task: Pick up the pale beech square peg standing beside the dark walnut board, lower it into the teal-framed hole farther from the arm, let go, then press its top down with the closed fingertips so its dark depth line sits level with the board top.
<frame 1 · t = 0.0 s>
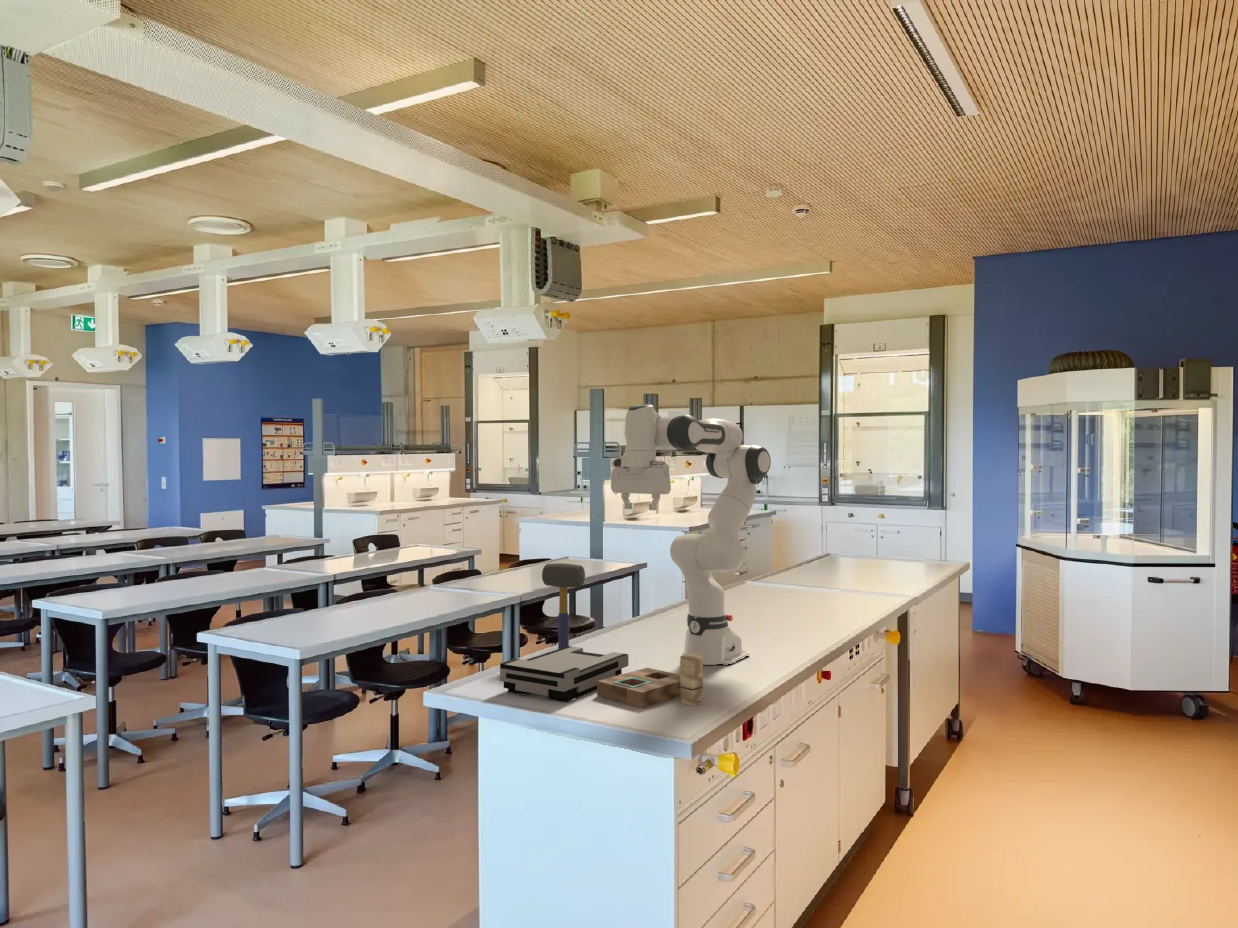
hand: (640, 509, 237), 48 cm above the table, tool pointing down, fingers open, 8 cm apart
board: (645, 694, 220), on the table
peg: (691, 703, 212), on the table
rubber mallet: (563, 659, 260), on the table
game console: (566, 686, 230), on the table
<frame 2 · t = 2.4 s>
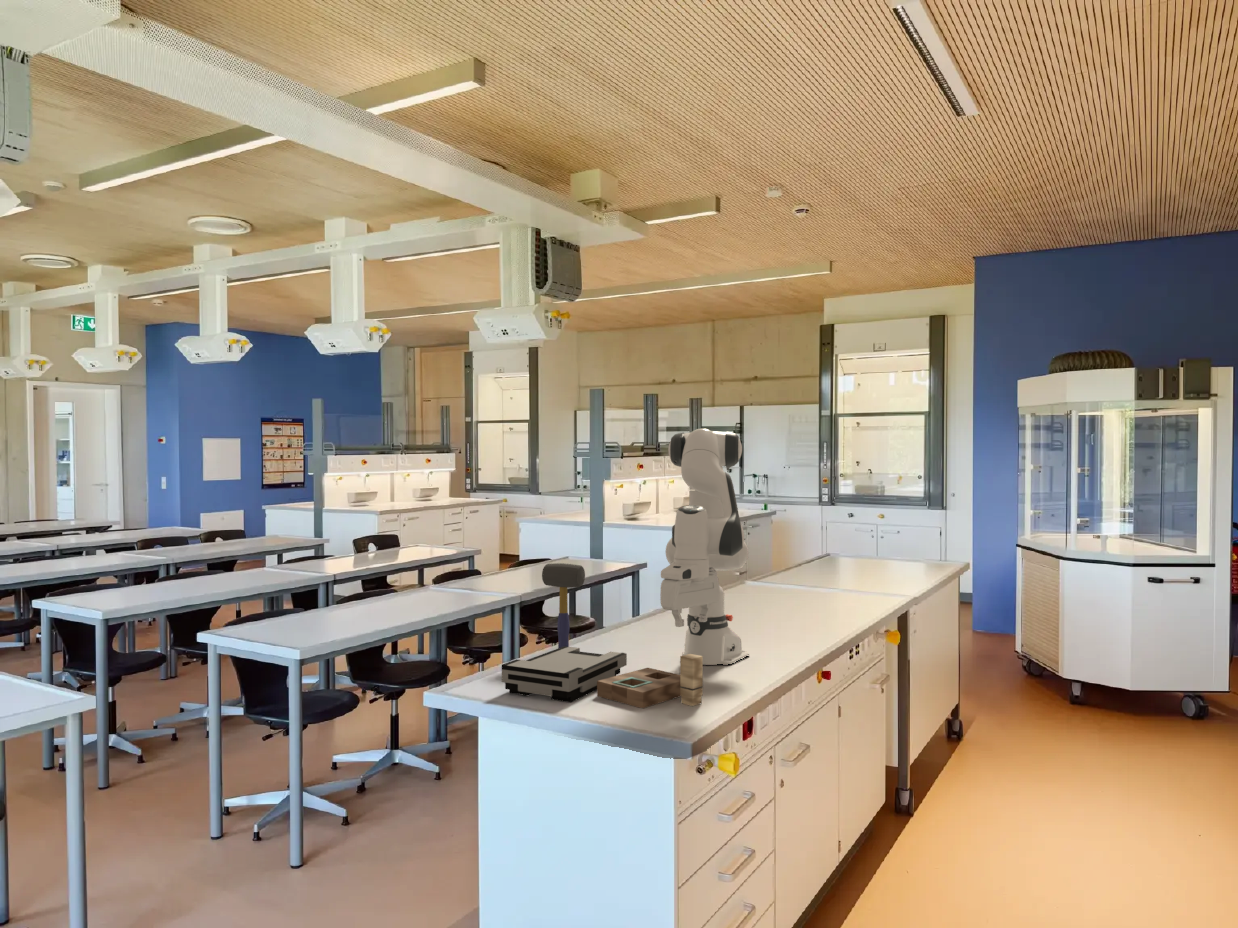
hand: (691, 623, 212), 20 cm above the table, tool pointing down, fingers open, 8 cm apart
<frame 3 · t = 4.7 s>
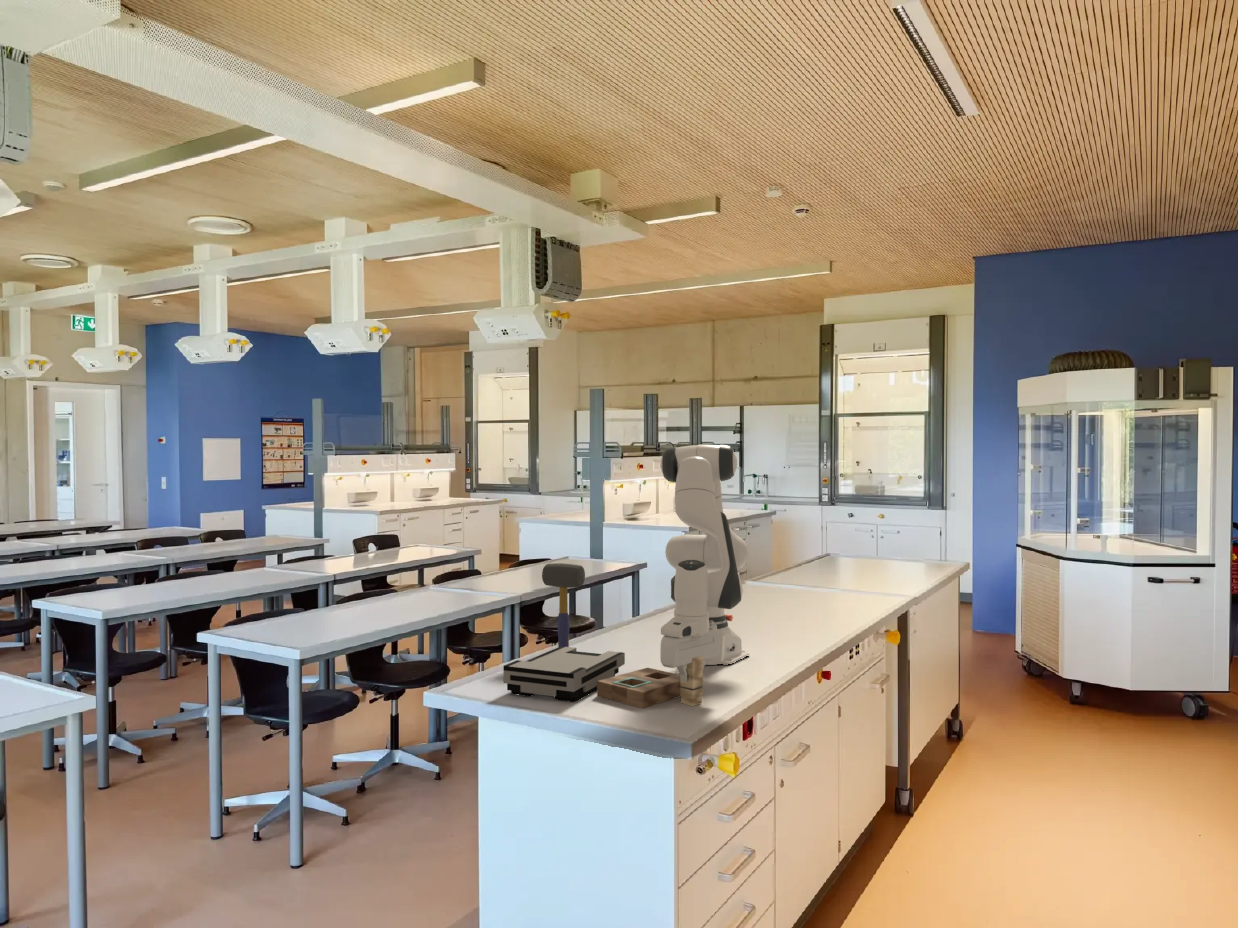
hand: (691, 679, 212), 6 cm above the table, tool pointing down, fingers closed on peg, 4 cm apart
peg: (691, 703, 212), on the table, touching gripper
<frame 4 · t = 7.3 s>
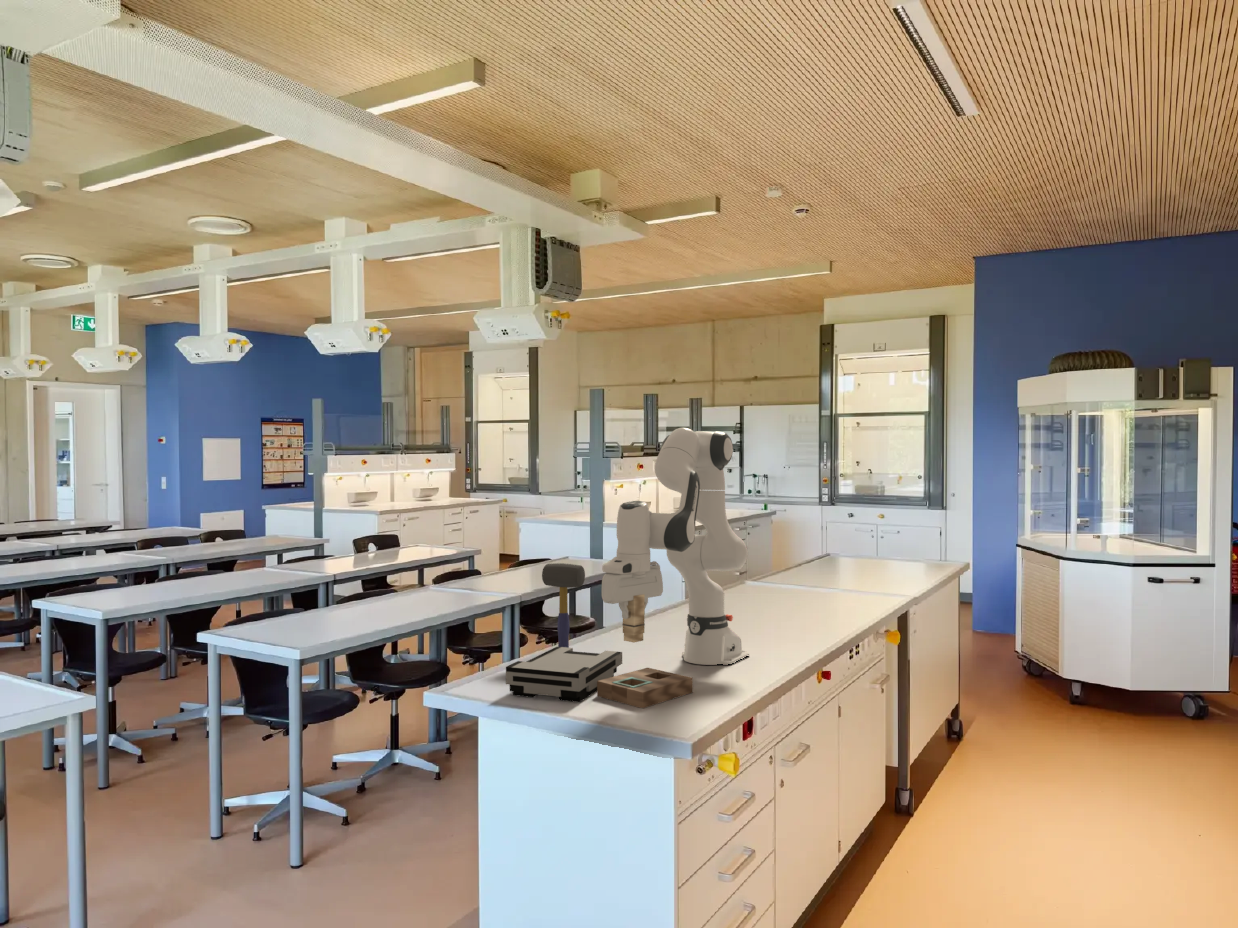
hand: (633, 616, 217), 21 cm above the table, tool pointing down, fingers closed on peg, 4 cm apart
peg: (633, 640, 217), point 15 cm above the table, touching gripper
when the fingers open (7 cm above the table, at t = 9.8 s): peg stays where it is, resting in board.
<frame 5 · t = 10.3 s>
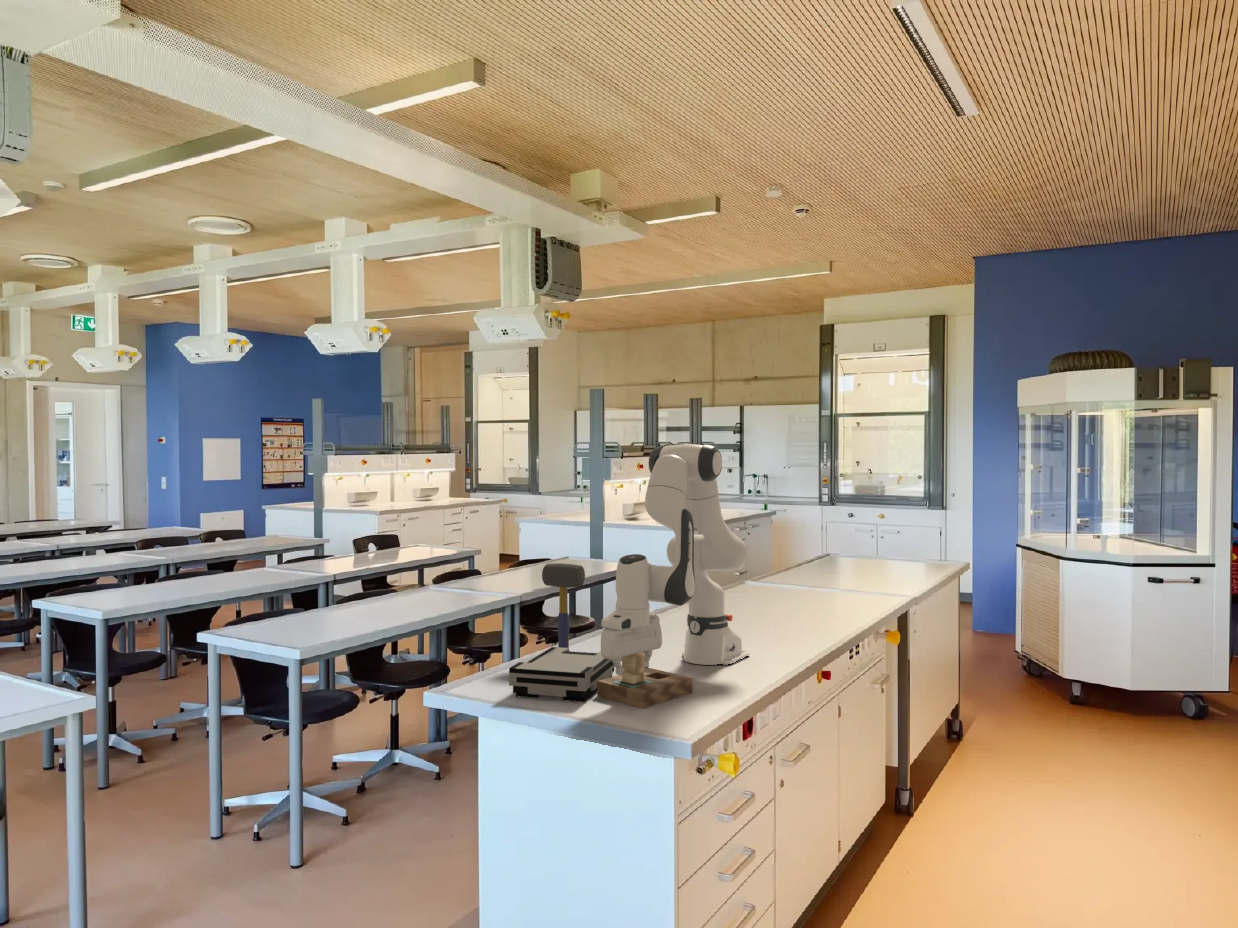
hand: (632, 670, 217), 7 cm above the table, tool pointing down, fingers open, 8 cm apart
peg: (632, 697, 217), resting in board
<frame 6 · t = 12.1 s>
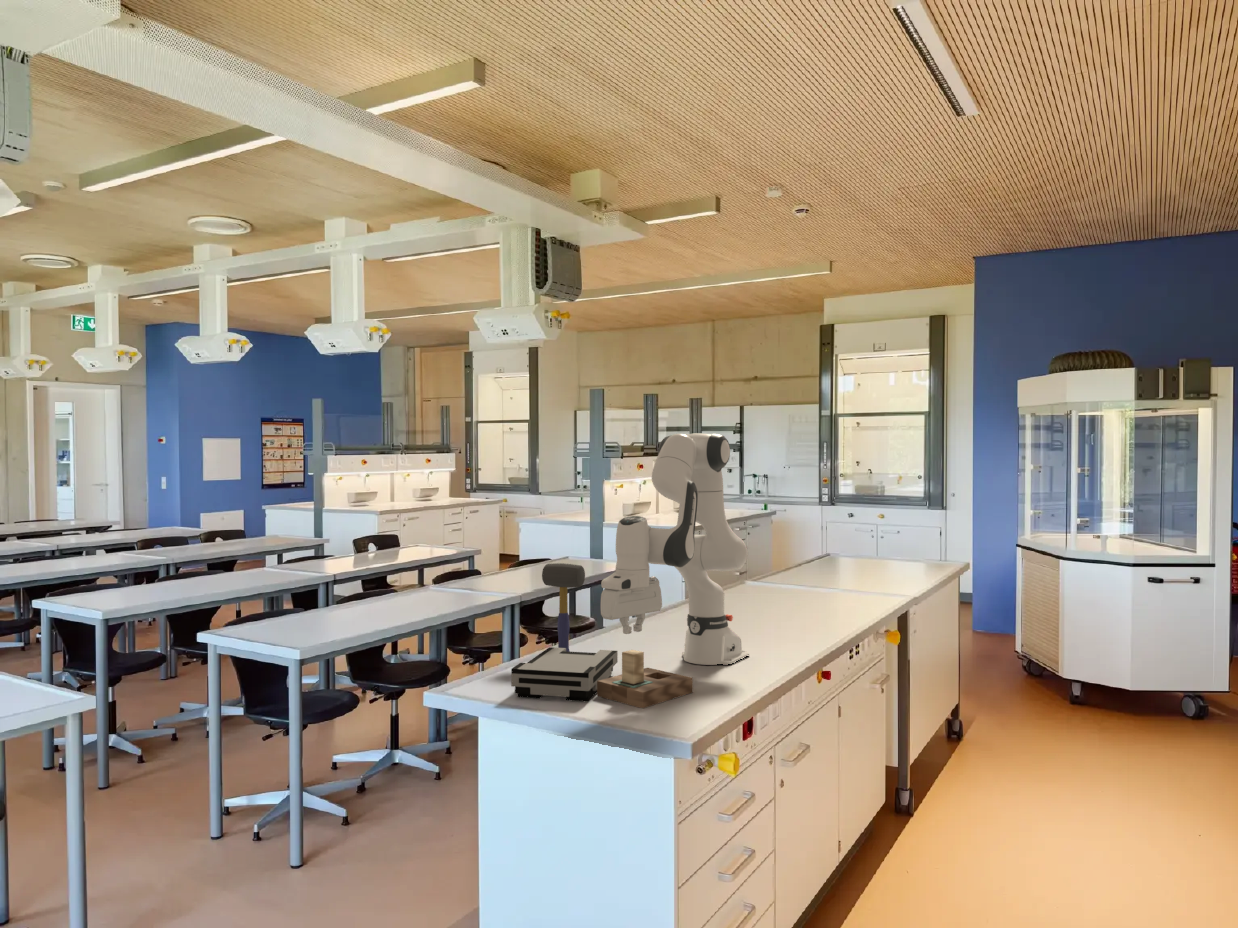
hand: (632, 632, 217), 17 cm above the table, tool pointing down, fingers open, 3 cm apart
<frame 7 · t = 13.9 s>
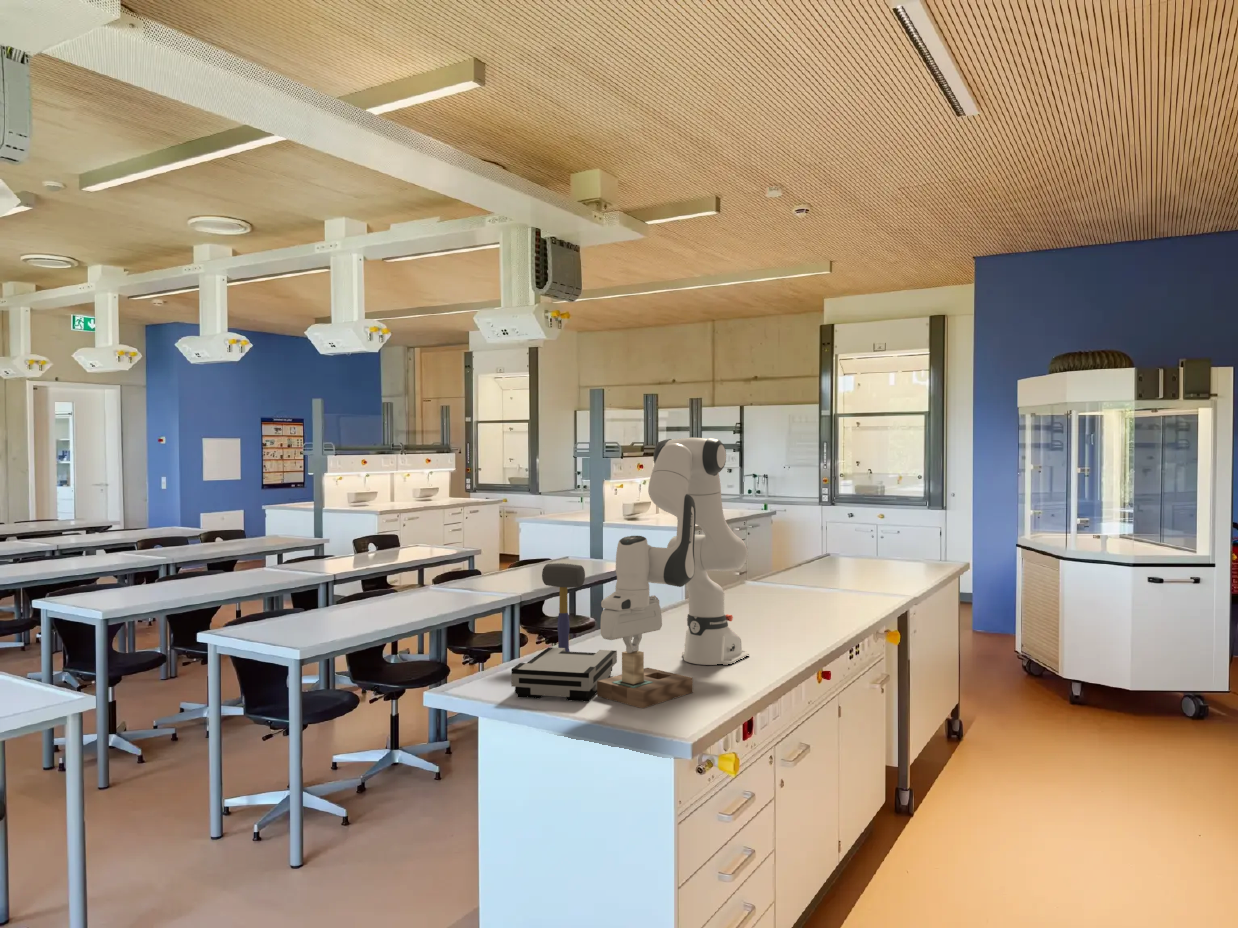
hand: (632, 651, 217), 12 cm above the table, tool pointing down, fingers closed, pressing on peg
peg: (632, 698, 217), resting in board, touching gripper
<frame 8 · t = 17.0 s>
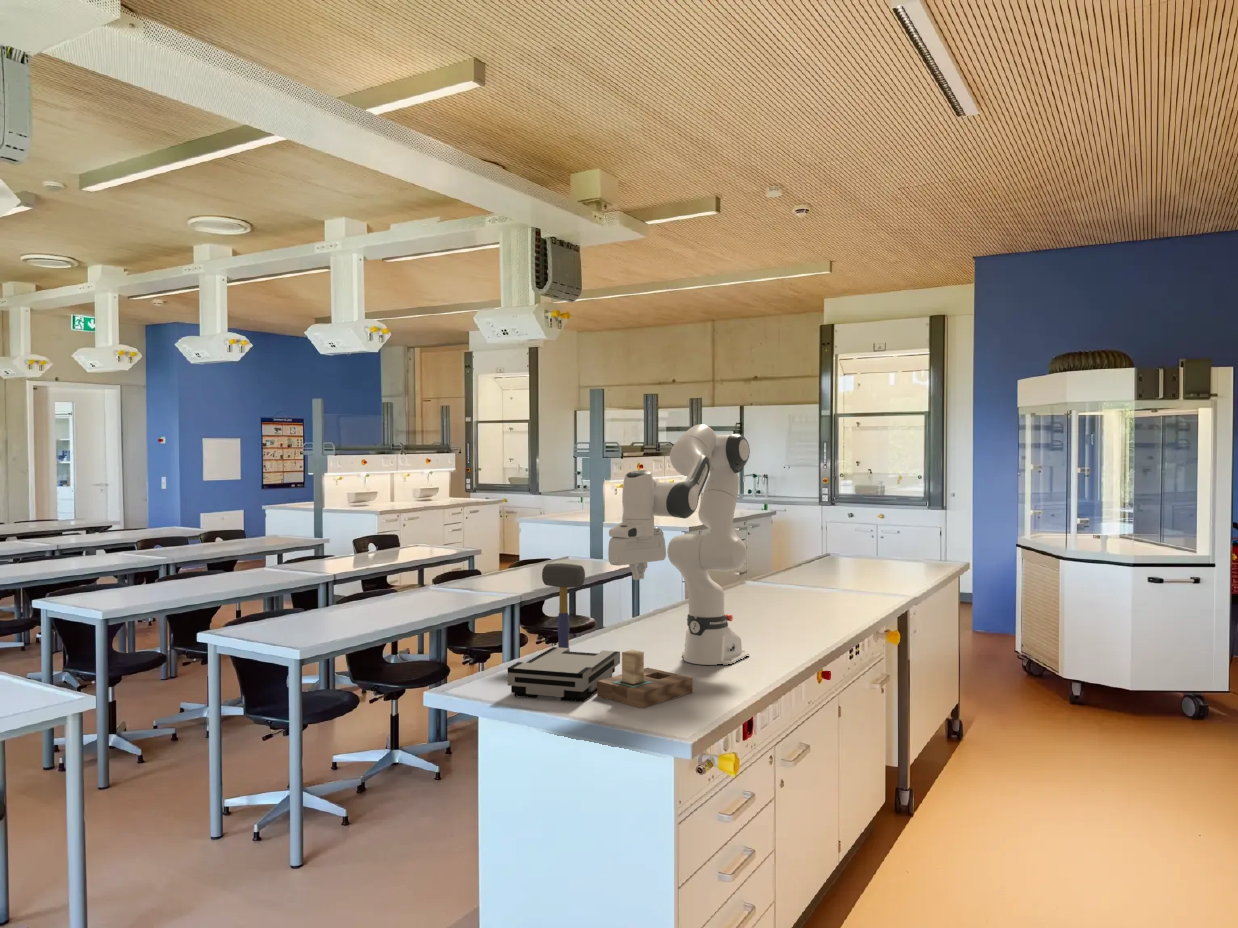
hand: (638, 579, 230), 29 cm above the table, tool pointing down, fingers closed
peg: (632, 698, 217), resting in board
at the end: peg 0.1 cm from the target spot on the board, point 0.0 cm above the board's base; peg tilted 0°; the gripper is holding nothing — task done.
